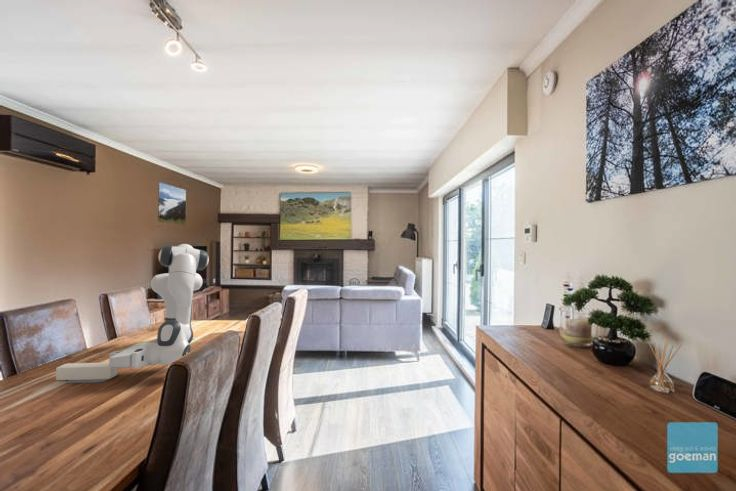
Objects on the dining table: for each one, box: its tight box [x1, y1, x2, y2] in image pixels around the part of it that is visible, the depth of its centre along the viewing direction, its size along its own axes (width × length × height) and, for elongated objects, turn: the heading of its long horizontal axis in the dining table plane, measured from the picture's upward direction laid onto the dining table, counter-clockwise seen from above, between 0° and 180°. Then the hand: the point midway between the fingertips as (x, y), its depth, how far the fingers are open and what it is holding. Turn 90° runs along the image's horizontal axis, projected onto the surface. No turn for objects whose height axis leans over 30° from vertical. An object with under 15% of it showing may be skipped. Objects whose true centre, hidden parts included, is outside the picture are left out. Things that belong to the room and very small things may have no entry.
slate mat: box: [65, 371, 120, 384], centre depth 138 cm, size 14×10×1 cm
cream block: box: [55, 361, 119, 381], centre depth 138 cm, size 5×5×20 cm
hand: (111, 354), depth 139 cm, fingers closed
